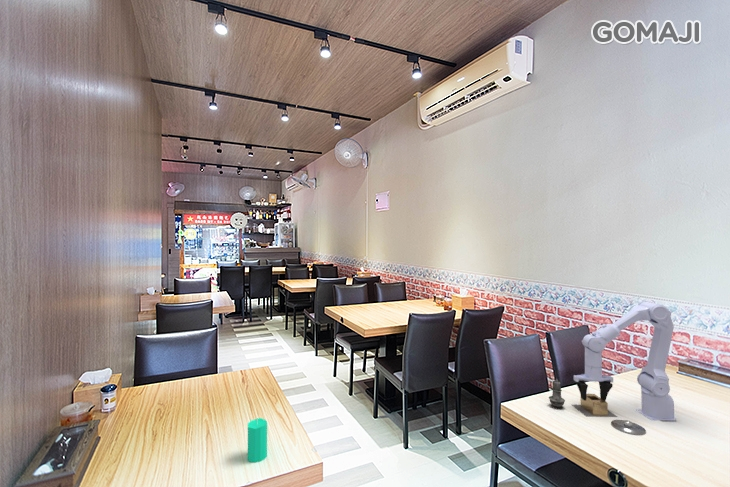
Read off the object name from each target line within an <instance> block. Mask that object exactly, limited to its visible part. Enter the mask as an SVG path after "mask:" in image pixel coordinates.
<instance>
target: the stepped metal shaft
mask: <svg viewBox="0 0 730 487" xmlns="http://www.w3.org/2000/svg"><path fill="white" fill-rule="evenodd" d="M561 385H562V383H561V381H559V380H558V378H555V380H553V381H552V388H551V391H552V395H550V396H548V399H549V402H550V403H551V405H550V407H551V408H552V409H554V410H555V409H556V410H563V409H564V407H563V406H564V404H565V402H566V399H564V398H563V397H562V389H561V388H562V386H561Z"/></svg>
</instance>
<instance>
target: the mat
mask: <svg viewBox="0 0 730 487" xmlns="http://www.w3.org/2000/svg"><path fill="white" fill-rule="evenodd" d="M571 406H572V407H573V408H575V410H577V411H579V412H580V413H581V414H582V415H584V416H585V417H589V418H590V417H591V418H593V417H594V418H618V416H617V415H616V414H614V413H613V412H611V411H610V410H608V416H603V415H592V414H591V413H589V412H588V411H587V410H585V409H584V408H583V407H581V404H571Z"/></svg>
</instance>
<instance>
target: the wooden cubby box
mask: <svg viewBox="0 0 730 487" xmlns="http://www.w3.org/2000/svg"><path fill="white" fill-rule="evenodd" d="M608 404H609V402H608V401H604V400H603V399H601V398H600V397H599V396H598V395H596V394H595V393H587V398H586V400H583V399H582V398H581V397H580V405H581V407H583V408H584V409H585V410H587V411H588V412H589V413H591V414H592V415H603V416H608V408H609V407H608Z"/></svg>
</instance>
